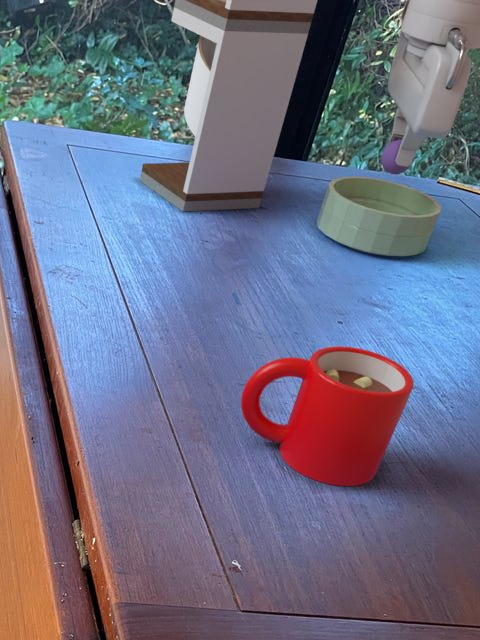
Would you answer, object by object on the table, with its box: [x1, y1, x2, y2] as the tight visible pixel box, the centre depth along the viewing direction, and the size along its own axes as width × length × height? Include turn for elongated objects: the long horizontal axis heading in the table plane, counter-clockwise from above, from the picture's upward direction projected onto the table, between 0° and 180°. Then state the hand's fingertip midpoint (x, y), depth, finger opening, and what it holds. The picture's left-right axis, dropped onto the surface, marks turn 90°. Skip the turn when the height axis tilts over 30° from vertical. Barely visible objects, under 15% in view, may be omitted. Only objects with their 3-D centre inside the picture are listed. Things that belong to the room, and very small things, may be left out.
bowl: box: [316, 175, 443, 257], centre depth 120 cm, size 13×13×5 cm
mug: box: [240, 345, 414, 487], centre depth 78 cm, size 8×12×8 cm, turn 77°
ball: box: [380, 140, 416, 175], centre depth 115 cm, size 4×4×4 cm
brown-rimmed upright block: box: [139, 0, 318, 212], centre depth 114 cm, size 11×11×35 cm
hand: (398, 157), depth 115 cm, fingers closed on ball, 3 cm apart
